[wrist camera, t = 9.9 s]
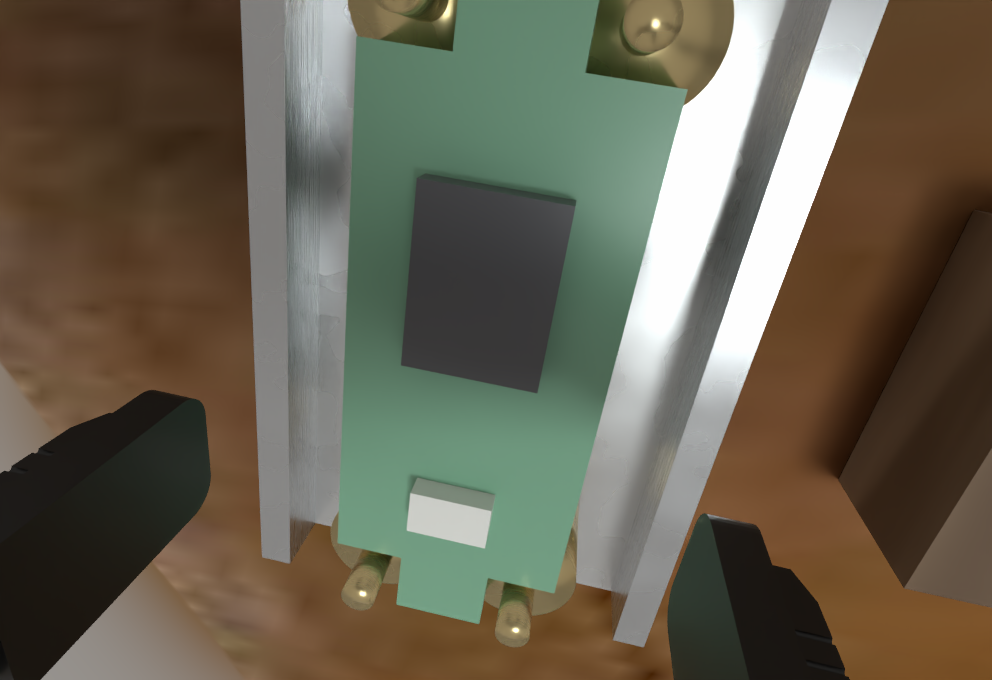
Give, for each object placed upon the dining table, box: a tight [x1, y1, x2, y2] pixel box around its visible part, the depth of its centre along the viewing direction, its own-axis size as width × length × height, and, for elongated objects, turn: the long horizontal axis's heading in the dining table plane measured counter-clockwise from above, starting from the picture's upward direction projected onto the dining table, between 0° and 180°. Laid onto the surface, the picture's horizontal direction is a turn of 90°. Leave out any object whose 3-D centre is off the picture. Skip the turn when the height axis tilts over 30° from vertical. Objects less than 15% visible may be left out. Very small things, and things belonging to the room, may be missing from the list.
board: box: [338, 0, 688, 624], centre depth 13 cm, size 6×16×2 cm, turn 172°
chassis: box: [240, 0, 889, 647], centre depth 15 cm, size 13×20×6 cm, turn 172°
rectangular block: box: [839, 210, 992, 608], centre depth 15 cm, size 2×9×4 cm, turn 172°
